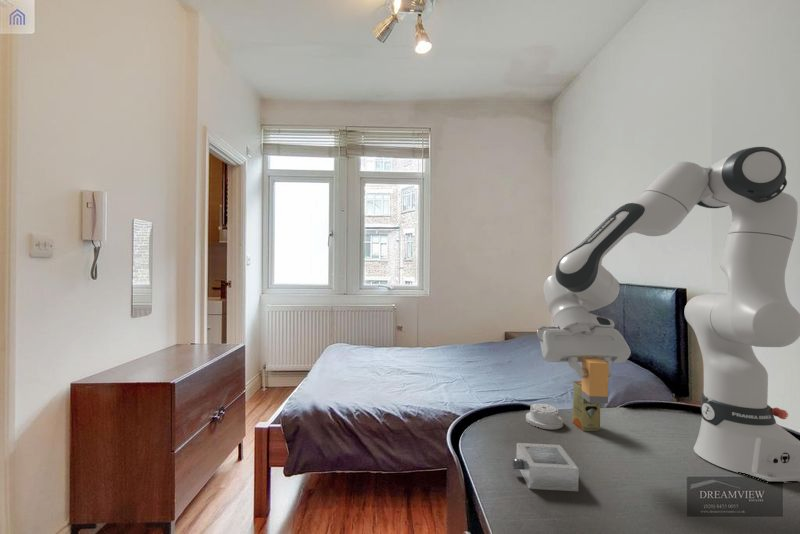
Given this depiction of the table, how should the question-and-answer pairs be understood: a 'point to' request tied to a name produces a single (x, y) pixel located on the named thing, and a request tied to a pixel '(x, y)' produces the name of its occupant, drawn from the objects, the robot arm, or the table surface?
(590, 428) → the shoe polish box
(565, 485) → the white shallow box
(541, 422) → the mechanical component
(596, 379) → the plug
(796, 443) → the robot arm
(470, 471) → the table surface
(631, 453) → the table surface
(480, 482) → the table surface
